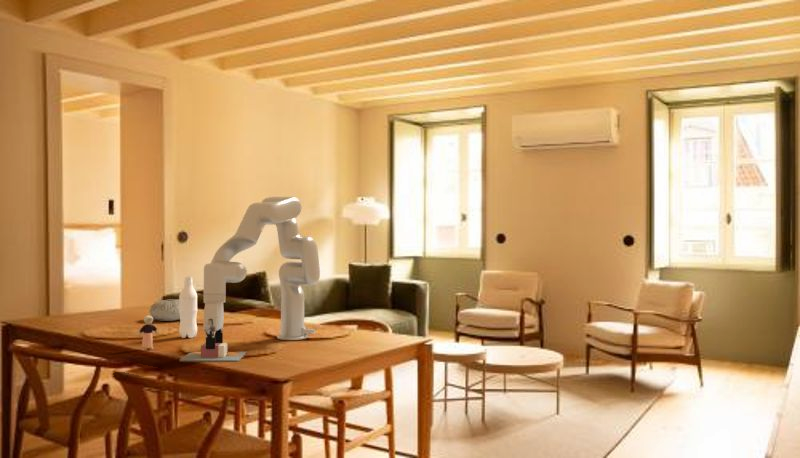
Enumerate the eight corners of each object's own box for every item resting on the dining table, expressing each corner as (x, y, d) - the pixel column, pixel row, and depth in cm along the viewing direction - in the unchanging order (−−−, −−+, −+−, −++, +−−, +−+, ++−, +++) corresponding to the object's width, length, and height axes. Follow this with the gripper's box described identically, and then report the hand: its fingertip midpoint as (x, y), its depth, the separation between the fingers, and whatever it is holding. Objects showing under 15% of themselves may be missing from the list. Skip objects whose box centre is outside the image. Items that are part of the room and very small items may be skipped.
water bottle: (191, 339, 262) (191, 277, 261) (175, 338, 263) (175, 277, 263) (200, 336, 269) (200, 276, 268) (184, 335, 270) (185, 275, 270)
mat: (246, 353, 235) (246, 351, 235) (237, 361, 221) (237, 360, 221) (192, 352, 235) (192, 351, 235) (179, 361, 221) (179, 359, 221)
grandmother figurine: (142, 351, 236) (143, 317, 236) (136, 350, 238) (136, 316, 238) (160, 348, 243) (160, 314, 243) (154, 347, 245) (154, 313, 245)
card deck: (204, 354, 231) (205, 343, 231) (227, 354, 231) (227, 343, 231) (201, 357, 226) (201, 345, 226) (223, 357, 226) (224, 345, 226)
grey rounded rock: (143, 322, 301) (143, 301, 301) (157, 317, 319) (157, 297, 319) (181, 323, 302) (181, 301, 301) (193, 317, 319) (193, 297, 319)
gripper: (210, 295, 237) (210, 341, 237) (196, 301, 219) (196, 351, 219) (231, 295, 237) (230, 341, 237) (218, 301, 219) (218, 351, 220)
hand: (214, 346), depth 228 cm, fingers open, 9 cm apart
